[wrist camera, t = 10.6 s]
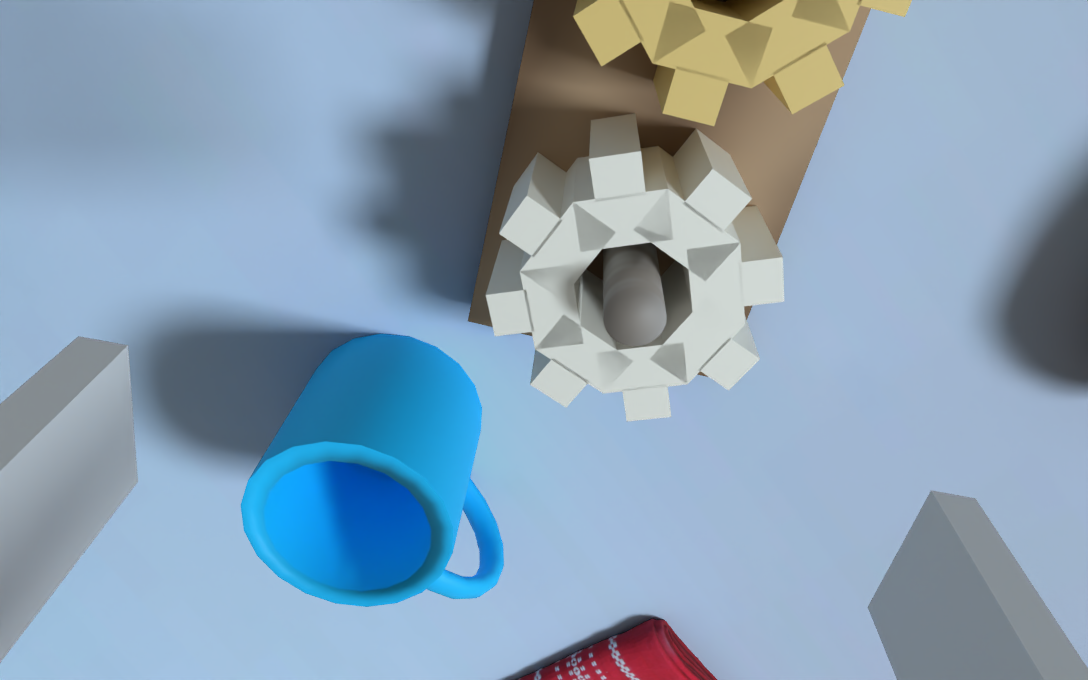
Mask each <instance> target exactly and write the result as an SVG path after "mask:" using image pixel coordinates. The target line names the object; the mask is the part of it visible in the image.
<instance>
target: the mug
mask: <svg viewBox="0 0 1088 680" xmlns="http://www.w3.org/2000/svg"><path fill="white" fill-rule="evenodd" d="M481 416H482V407H481V403H480V400H479V397H478V394H477V391H476V388H475V385H474V384H473V382H472V381H471V379H470V378H469V377H468V375H467V374H466V373H465V371H464V370H463V369H462V367H461V366H460V365H459V363H457V362H456V361H455V360H453V359H452V358H450V357H449V356H448V355H446V354H445V353H444V352H442V351H441V350H440V349H438V348H437V347H435V346H433V345H430V344H428V343H425V342H422V341H420V340H417V339H415V338H412V337H410V336H400V335H391V334H375V335H370V336H365V337H359V338H354V339H352V340H350V341H349V342H347V343H345V344H343V345H341V346H339V347H338V348H336V349H334V350H332V351H331V352H330V354H329V355H328V356H327V357H326V358H325V359H324V361H323V362H322V363H321V364H320V365H319V366H318V368H317V369H316V371H315V372H314V374H313V375H312V377H311V379H310V380H309V382H308V384H307V385H306V387H305V389H304V390H303V392H302V393H301V395H300V397H299V398H298V400H297V402H296V403H295V405H294V406H293V408H292V410H291V411H290V413H289V415H288V416H287V418H286V420H285V421H284V423H283V424H282V426H281V428H280V429H279V431H278V433H277V434H276V436H275V438H274V439H273V441H272V442H271V444H270V446H269V447H268V449H267V451H266V452H265V454H264V456H263V457H262V459H261V460H260V462H259V464H258V465H257V467H256V469H255V470H254V472H253V473H252V475H251V477H250V478H249V480H248V483H247V486H246V489H245V493H244V496H243V499H242V503H241V511H242V518H243V526H244V531H245V533H246V535H247V537H248V539H249V541H250V543H251V545H252V547H253V548H254V550H255V552H256V554H257V556H258V557H259V558H260V559H261V560H262V561H263V562H264V563H265V564H266V565H267V566H268V567H269V568H270V569H271V570H272V571H273V572H274V573H275V574H276V575H277V576H278V577H280V578H281V579H283V580H285V581H286V582H288V583H289V584H291V585H293V586H294V587H296V588H298V589H299V590H301V591H303V592H304V593H306V594H309V595H312V596H315V597H318V598H321V599H324V600H327V601H330V602H333V603H337V604H346V605H356V606H365V607H369V606H377V605H384V604H392V603H398V602H400V601H403V600H405V599H407V598H410V597H412V596H415V595H417V594H419V593H422V592H423V591H424V590H425V589H428V590H430V591H433V592H435V593H438V594H441V595H443V596H446V597H449V598H452V599H470V598H477V597H480V596H481V595H483V594H484V593H485V592H487V591H488V590H490V589H491V588H493V587H494V586H495V585H496V584H497V582H498V579H499V577H500V574H501V572H502V569H503V566H504V557H503V543H502V540H501V536H500V533H499V529H498V526H497V523H496V520H495V518H494V516H493V514H492V512H491V510H490V508H489V506H488V504H487V502H486V500H485V499H484V497H483V496H482V495H481V493H480V492H479V490H478V489H477V487H476V486H475V484H474V483H473V482H472V480H471V479H470V475H471V471H472V466H473V462H474V458H475V453H476V449H477V444H478V440H479V436H480V431H481ZM462 510H464V512H465V514H466V516H467V518H468V520H469V522H470V524H471V526H472V528H473V530H474V532H475V536H476V540H477V543H478V547H479V551H480V567H479V569H478V571H477V574H476V575H474V576H473V577H462V576H460V575H457V574H455V573H452V572H450V571H447V570H445V567H446V565H447V563H448V561H449V559H450V557H451V555H452V553H453V549H454V544H455V540H456V536H457V531H458V527H459V523H460V518H461V514H462Z"/></svg>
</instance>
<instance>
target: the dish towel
mask: <svg viewBox="0 0 1088 680" xmlns="http://www.w3.org/2000/svg"><path fill="white" fill-rule="evenodd" d="M518 680H717V679H716V678H715V677H714V676H713V675H712V674H711V673H710V672H709V671H708V670H707V669H706V667H705V666H704V665H703V664H702V663H701V662H700V661H699V659H698V658H697V657H695V655H694V654H693V653H692V652H691V651H690V650H689V649H688V648H687V646H686V645H685V644H684V643H683V642H682V640H681V639H680V638H679V637H678V636H677V635H676V634H675V633H674V631H673V630H672V628H671V627H670V626H669V625H668V623H667V622H666V621H665V620H656V619H650V620H648V621H646V622H644V623H642V624H640V625H638V626H636V627H634V628H632V629H631V630H629V631H627V632H625V633H622V634H618V635H615V636H612V637H610V638H608V639H606V640H603V641H601V642H599V643H597V644H594V645H592V646H590V647H588V648H586V649H583V650H580V651H577V652H575V653H574V654H572V655H570V656H568V657H566V658H564V659H562V660H559V661H557V662H556V663H554V664H551V665H549V666H547V667H545V668H541V669H539V670H538V671H536V672H534V673H532V674H529V675H526V676H524V677H522V678H519V679H518Z"/></svg>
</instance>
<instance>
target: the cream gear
mask: <svg viewBox="0 0 1088 680" xmlns="http://www.w3.org/2000/svg"><path fill="white" fill-rule="evenodd" d="M751 199H752V197H751V195H750V193H749V192H748V190H747V188H746V186H745V184H744V182H743V180H742V178H741V176H740V174H739V172H738V170H737V168H736V166H735V164H734V162H733V160H732V158H731V156H730V154H729V153H727V152H726V151H725V150H723V149H722V148H721V147H720V146H718V145H717V144H716V143H714V142H713V141H712V140H710V139H709V138H708V137H707V136H705V135H704V134H703V133H701V132H700V131H699V130H697V129H695V130H694V132H693V133H692V134H691V135H690V136H689V138H688V139H687V140H686V141H685V143H684V144H683V145H682V146H681V147H680V149H679V150H678V151H677V152H676V154H675V155H674V156H673V157H672V156H671V155H669V154H668V153H667V152H665V151H664V150H663V149H662V148H660V147H659V146H654V147H648V148H640V141H639V135H638V128H637V122H636V116H635V113H634V114H627V115H621V116H614V117H608V118H601V119H595V120H591V129H590V148H589V156H587V157H580V158H577V159H576V160H575V162H574V163H573V164H572V166H571V167H570V168H569V170H568V171H567V172H565V171H563V170H562V169H561V168H559V167H558V166H556V165H555V164H554V163H552V162H551V161H550V160H548V159H547V158H545V157H544V156H543V155H541V154H540V153H537V154H536V156H535V157H534V158H533V160H532V161H531V163H530V164H529V165H528V167H527V168H526V170H525V171H524V172H523V174H522V175H521V177H520V178H519V179H518V181H517V182H516V183H515V185H514V187H513V190H512V193H511V196H510V200H509V203H508V206H507V209H506V212H505V216H504V219H503V222H502V225H501V228H500V232H499V234H500V235H502V236H503V237H505V238H506V239H507V240H502V242H501V245H500V249H499V252H498V255H497V259H496V262H495V265H494V269H493V272H492V275H491V279H490V282H489V286H488V289H487V292H486V299H487V303H488V307H489V312H490V316H491V321H492V325H493V330H494V334H495V336H502V335H510V334H518V333H527V332H532V336H533V341H534V346H535V355H534V362H533V369H532V375H531V382H530V385H531V386H533V387H535V388H536V389H538V390H539V391H541V392H542V393H544V394H546V395H547V396H549V397H550V398H552V399H553V400H555V401H557V402H558V403H560V404H561V405H563V406H564V407H567V406H568V405H569V404H570V403H571V402H572V401H573V399H574V398H575V397H576V396H577V395H578V394H579V393H580V392H581V390H582V389H583V388H584V387H585V386H586V385H587V384H589V385H591V386H592V387H594V388H596V389H597V390H599V391H600V392H602V393H603V394H604V393H612V392H621V391H623V398H624V405H625V412H626V419H627V421H636V420H646V419H655V418H665V417H671V412H670V403H669V394H668V386H677V385H686V384H688V383H689V382H690V381H691V380H692V379H693V378H694V377H695V376H696V375H697V374H698V373H699V372H700V371H701V372H702V373H704V374H705V375H707V376H708V377H710V378H711V379H713V380H714V381H716V382H717V383H719V384H720V385H722V386H723V387H724V388H726V389H727V390H729V389H730V388H731V387H732V386H733V385H734V384H735V383H736V382H737V381H739V380H740V379H741V378H742V377H743V376H744V375H745V374H746V373H747V372H748V371H749V370H750V369H751V368H752V367H753V366H754V365H755V364H756V363H757V362H758V361H759V360H760V358H759V355H758V352H757V349H756V346H755V343H754V340H753V337H752V334H751V332H750V329H749V326H748V323H747V320H746V317H745V313H744V306H751V305H760V304H768V303H776V302H784V281H783V257H782V255H781V253H780V251H779V249H778V247H777V245H776V243H775V241H774V239H773V237H772V235H771V233H770V231H769V229H768V227H767V225H766V223H765V221H764V219H763V217H762V215H761V213H760V211H759V209H758V207H757V206H750V207H745V206H746V205H747V204H748V203H749V202H750V201H751ZM650 242H651V243H652V244H654V245H655V246H657V247H658V248H659V249H661V250H662V251H664V252H665V253H666V254H668V255H669V256H671V257H672V258H673V259H675V261H674V262H673V263H672V265H671V266H670V267H669V268H668V269H667V270H666V271H665V273H664V274H663V275H662V276H661V283H662V289H663V296H664V302H665V308H666V315H667V320H666V325H665V328H664V330H663V331H662V333H661V334H660V335H659V336H658V337H657V338H656V339H655V340H654V341H652V342H650V343H648V344H645V345H641V346H628V345H624V344H621V343H619V342H617V341H615V340H614V339H613V338H612V337H611V336H610V335H609V334H608V333H607V331H606V329H605V326H604V321H603V281H602V280H601V279H600V278H598V277H597V276H595V275H594V274H592V273H591V272H589V271H588V270H587V269H586V268H587V267H588V266H589V265H590V263H591V262H592V261H593V260H594V258H595V257H596V256H597V255H598V254H599V252H600V251H601V250H602V249H605V248H613V247H620V246H628V245H635V244H643V243H650Z"/></svg>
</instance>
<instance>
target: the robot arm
mask: <svg viewBox="0 0 1088 680" xmlns="http://www.w3.org/2000/svg"><path fill="white" fill-rule="evenodd" d="M137 482H138V478H137V464H136V450H135V436H134V422H133V408H132V394H131V380H130V365H129V351H128V345H123V344H118V343H112V342H107V341H101V340H96V339H90V338H84V337H79V336H78V337H77V338H76V339H75V340H74V341H72V342H71V343H70V344H69V345H68V346H67V347H65V348H64V349H63V350H62V351H61V352H60V353H59V354H57V355H56V356H55V357H54V358H53V359H52V360H50V361H49V362H48V363H47V364H46V365H45V366H44V367H42V368H41V369H40V370H39V371H38V372H37V373H36V374H34V375H33V376H32V377H31V378H30V379H29V380H27V381H26V382H25V383H24V384H23V385H22V386H21V387H19V388H18V389H17V390H16V391H15V392H14V393H12V394H11V395H10V396H9V397H8V398H7V399H6V400H4V401H3V402H2V403H1V404H0V662H1V661H2V660H3V658H4V657H5V656H6V655H7V653H8V652H9V651H10V649H11V648H12V647H13V645H14V644H15V643H16V641H17V640H18V639H19V637H20V636H21V635H22V634H23V632H24V631H25V630H26V628H27V627H28V626H29V624H30V623H31V622H32V620H33V619H34V618H35V616H36V615H37V614H38V612H39V611H40V610H41V609H42V607H43V606H44V605H45V603H46V602H47V601H48V599H49V598H50V597H51V595H52V594H53V593H54V591H55V590H56V589H57V588H58V586H59V585H60V584H61V582H62V581H63V580H64V578H65V577H66V576H67V574H68V573H69V572H70V570H71V569H72V568H73V567H74V565H75V564H76V563H77V561H78V560H79V559H80V557H81V556H82V555H83V553H84V552H85V551H86V549H87V548H88V547H89V545H90V544H91V543H92V542H93V540H94V539H95V538H96V536H97V535H98V534H99V532H100V531H101V530H102V528H103V527H104V526H105V524H106V523H107V522H108V521H109V519H110V518H111V517H112V515H113V514H114V513H115V511H116V510H117V509H118V507H119V506H120V505H121V503H122V502H123V501H124V500H125V498H126V497H127V496H128V494H129V493H130V492H131V490H132V489H133V488H134V486H135V485H136V484H137ZM868 609H869V612H870V614H871V617H872V619H873V621H874V624H875V626H876V629H877V631H878V634H879V636H880V639H881V641H882V644H883V646H884V648H885V651H886V653H887V656H888V658H889V661H890V663H891V666H892V668H893V671H894V673H895V676H896V678H897V680H1088V668H1087V667H1086V665H1085V664H1084V662H1083V661H1082V659H1081V658H1080V656H1079V655H1078V653H1077V652H1076V650H1075V649H1074V647H1073V646H1072V644H1071V643H1070V641H1069V639H1068V638H1067V636H1066V635H1065V633H1064V632H1063V630H1062V629H1061V627H1060V626H1059V624H1058V623H1057V621H1056V620H1055V618H1054V617H1053V615H1052V614H1051V612H1050V611H1049V609H1048V608H1047V606H1046V605H1045V603H1044V602H1043V600H1042V599H1041V597H1040V596H1039V594H1038V593H1037V591H1036V590H1035V588H1034V587H1033V585H1032V584H1031V582H1030V581H1029V579H1028V577H1027V576H1026V574H1025V573H1024V571H1023V570H1022V568H1021V567H1020V565H1019V564H1018V562H1017V561H1016V559H1015V558H1014V556H1013V555H1012V553H1011V552H1010V550H1009V549H1008V547H1007V546H1006V544H1005V543H1004V541H1003V540H1002V538H1001V537H1000V535H999V534H998V532H997V531H996V529H995V528H994V526H993V525H992V523H991V522H990V520H989V518H988V517H987V515H986V514H985V512H984V511H983V509H982V508H981V506H980V505H979V503H978V502H977V500H976V499H975V498H970V497H964V496H959V495H953V494H948V493H942V492H937V491H931V492H930V494H929V495H928V497H927V499H926V501H925V503H924V505H923V506H922V508H921V510H920V512H919V514H918V516H917V518H916V519H915V521H914V523H913V525H912V527H911V529H910V530H909V532H908V534H907V536H906V538H905V540H904V541H903V543H902V545H901V547H900V549H899V551H898V552H897V554H896V556H895V558H894V560H893V562H892V563H891V565H890V567H889V569H888V571H887V573H886V574H885V576H884V578H883V580H882V582H881V584H880V585H879V587H878V589H877V591H876V593H875V595H874V597H873V598H872V600H871V602H870V604H869V606H868Z"/></svg>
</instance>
